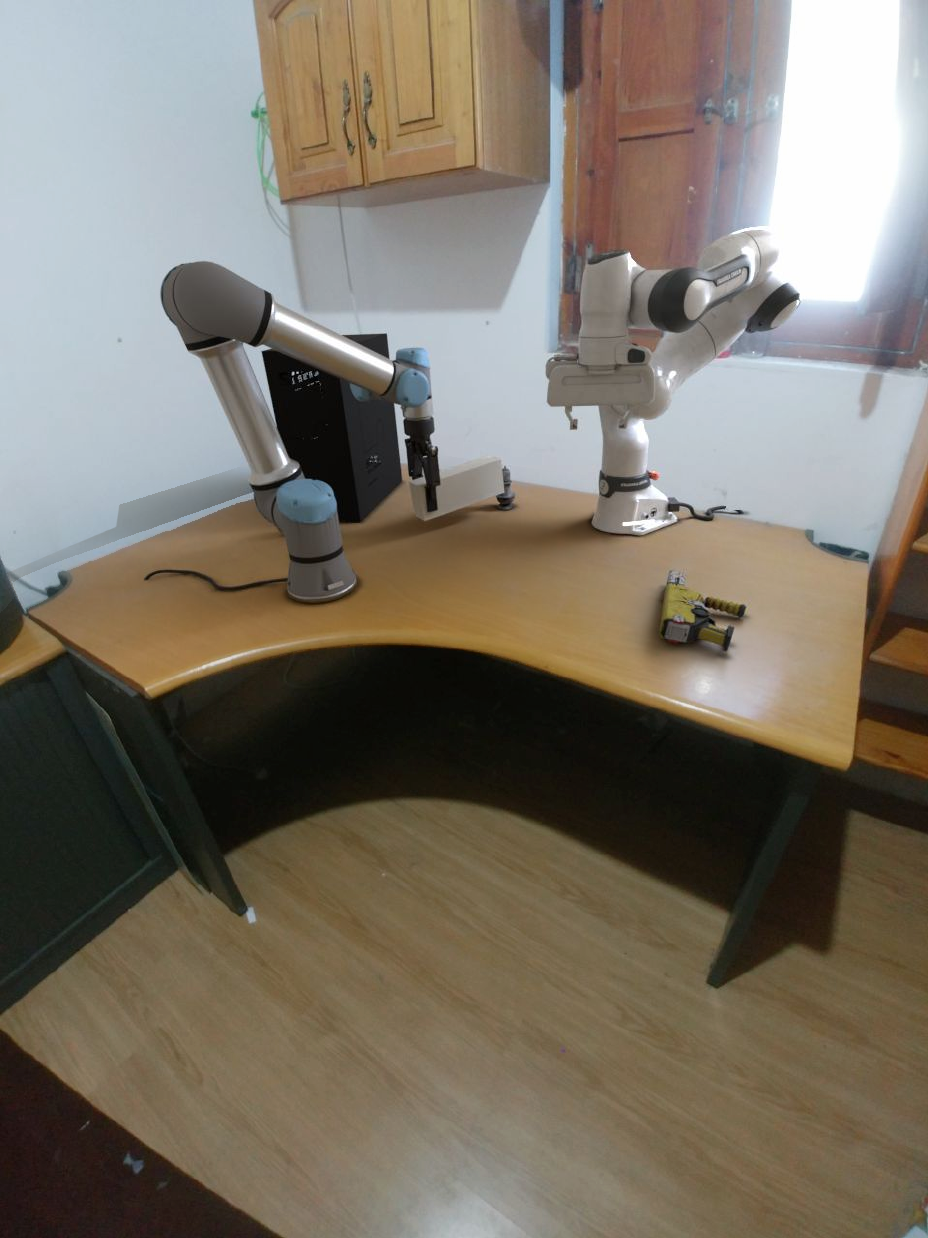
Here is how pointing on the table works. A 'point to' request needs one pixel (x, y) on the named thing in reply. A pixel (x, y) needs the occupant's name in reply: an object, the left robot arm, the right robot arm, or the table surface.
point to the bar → (460, 486)
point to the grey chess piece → (506, 492)
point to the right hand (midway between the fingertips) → (597, 428)
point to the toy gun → (693, 614)
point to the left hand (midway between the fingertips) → (426, 507)
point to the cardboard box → (336, 430)
